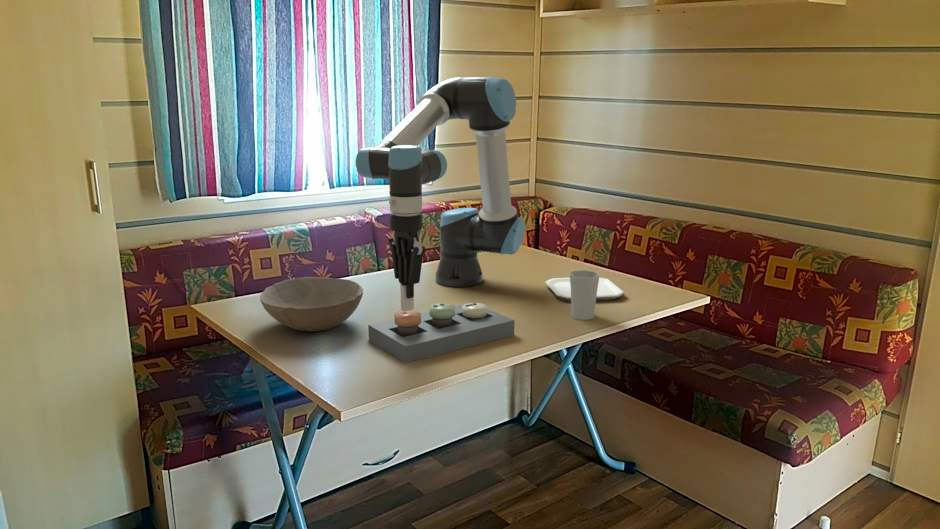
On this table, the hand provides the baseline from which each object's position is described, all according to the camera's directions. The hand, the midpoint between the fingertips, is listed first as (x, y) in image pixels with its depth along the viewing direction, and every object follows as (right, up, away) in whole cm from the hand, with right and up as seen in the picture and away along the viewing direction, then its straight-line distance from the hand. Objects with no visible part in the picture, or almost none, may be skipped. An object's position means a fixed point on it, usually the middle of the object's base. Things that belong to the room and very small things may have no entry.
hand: (407, 309), depth 175 cm
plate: (+50, +2, +47) cm, 68 cm away
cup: (+46, -3, +25) cm, 53 cm away
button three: (+16, -5, +13) cm, 22 cm away
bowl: (-26, -6, +15) cm, 31 cm away
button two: (+8, -4, +7) cm, 12 cm away
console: (+8, -7, +8) cm, 14 cm away
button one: (0, -6, +2) cm, 6 cm away
